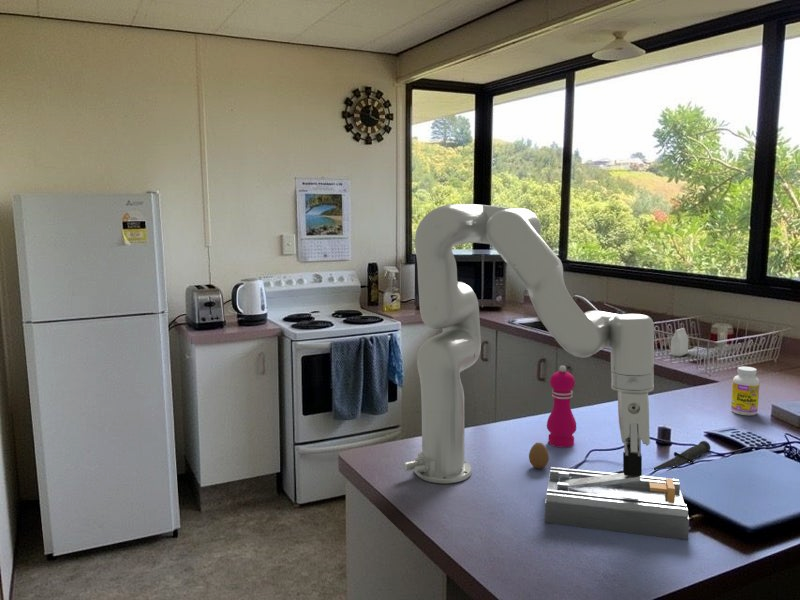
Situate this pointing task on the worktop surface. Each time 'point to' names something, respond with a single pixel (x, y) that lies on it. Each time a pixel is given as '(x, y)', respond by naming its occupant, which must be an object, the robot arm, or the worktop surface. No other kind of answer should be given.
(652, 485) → the latch
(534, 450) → the egg
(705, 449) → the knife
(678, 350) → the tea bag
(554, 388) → the pepper mill
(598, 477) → the light grey bar
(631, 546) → the worktop surface
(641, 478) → the grey ridged tray
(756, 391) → the supplement bottle
